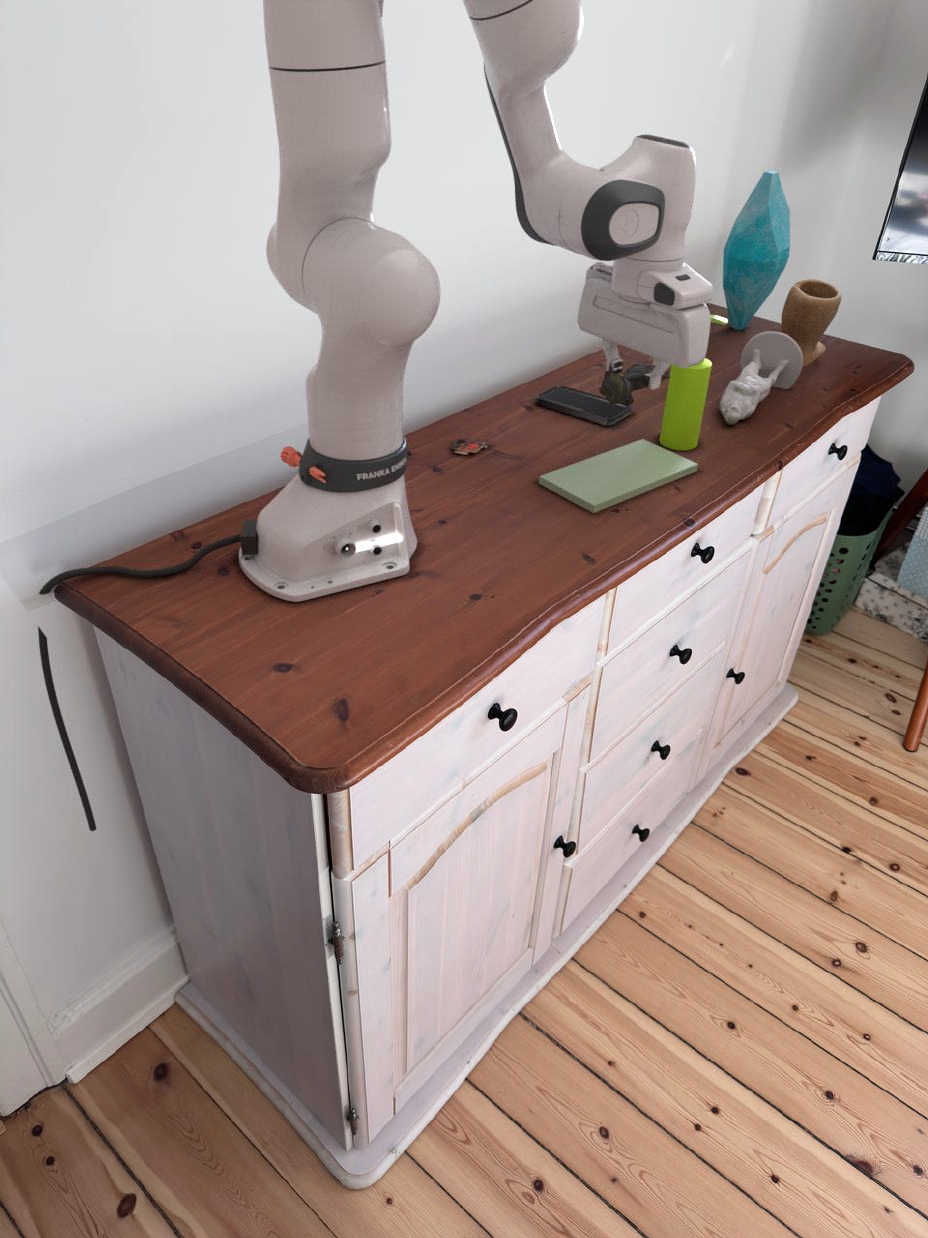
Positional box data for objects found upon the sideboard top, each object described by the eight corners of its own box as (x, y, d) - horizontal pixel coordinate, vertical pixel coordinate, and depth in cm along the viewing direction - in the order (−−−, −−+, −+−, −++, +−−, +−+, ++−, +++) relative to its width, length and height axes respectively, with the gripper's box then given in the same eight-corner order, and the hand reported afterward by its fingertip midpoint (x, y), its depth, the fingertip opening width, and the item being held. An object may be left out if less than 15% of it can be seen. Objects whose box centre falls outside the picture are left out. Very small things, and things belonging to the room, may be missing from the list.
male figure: (811, 335, 161) (764, 385, 144) (799, 387, 167) (752, 442, 150) (749, 322, 165) (697, 370, 149) (740, 374, 171) (688, 425, 155)
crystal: (781, 326, 196) (816, 171, 179) (753, 341, 187) (787, 180, 170) (728, 313, 202) (757, 163, 185) (699, 328, 193) (726, 171, 176)
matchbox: (455, 440, 144) (455, 437, 144) (488, 443, 143) (488, 441, 143) (449, 453, 140) (450, 450, 140) (483, 456, 140) (483, 453, 139)
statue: (632, 394, 138) (583, 413, 121) (634, 356, 136) (584, 370, 119) (674, 396, 135) (629, 415, 119) (676, 357, 133) (631, 371, 117)
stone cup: (809, 378, 171) (829, 296, 162) (749, 363, 177) (766, 282, 168) (839, 358, 180) (860, 279, 172) (782, 344, 186) (799, 267, 178)
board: (593, 513, 126) (594, 505, 125) (538, 483, 133) (539, 476, 132) (696, 471, 138) (698, 463, 137) (641, 445, 145) (642, 438, 144)
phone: (558, 384, 162) (634, 406, 154) (558, 390, 162) (633, 412, 155) (533, 397, 156) (610, 420, 149) (533, 403, 157) (609, 426, 150)
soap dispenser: (703, 452, 143) (728, 323, 131) (658, 448, 144) (679, 319, 132) (703, 437, 148) (727, 311, 136) (659, 433, 149) (679, 307, 137)
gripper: (572, 261, 124) (563, 362, 132) (691, 299, 111) (673, 408, 119) (605, 255, 127) (594, 353, 135) (724, 290, 114) (705, 397, 122)
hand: (632, 379), depth 127 cm, fingers closed on statue, 5 cm apart
